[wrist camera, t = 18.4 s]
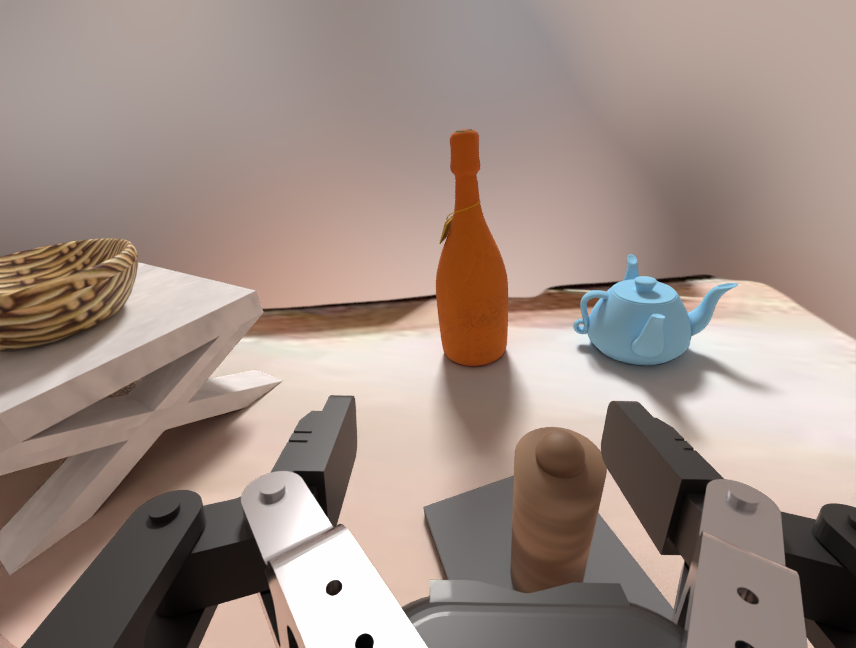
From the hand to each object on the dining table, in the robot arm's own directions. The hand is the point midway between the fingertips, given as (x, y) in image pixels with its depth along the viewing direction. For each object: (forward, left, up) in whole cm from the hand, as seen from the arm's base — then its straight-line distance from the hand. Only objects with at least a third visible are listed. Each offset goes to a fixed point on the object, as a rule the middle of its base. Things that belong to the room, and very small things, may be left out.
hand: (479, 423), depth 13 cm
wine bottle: (+15, +38, -25) cm, 48 cm away
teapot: (+37, +29, -25) cm, 53 cm away
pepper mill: (+7, +6, -23) cm, 25 cm away
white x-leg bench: (-35, +45, -25) cm, 62 cm away
